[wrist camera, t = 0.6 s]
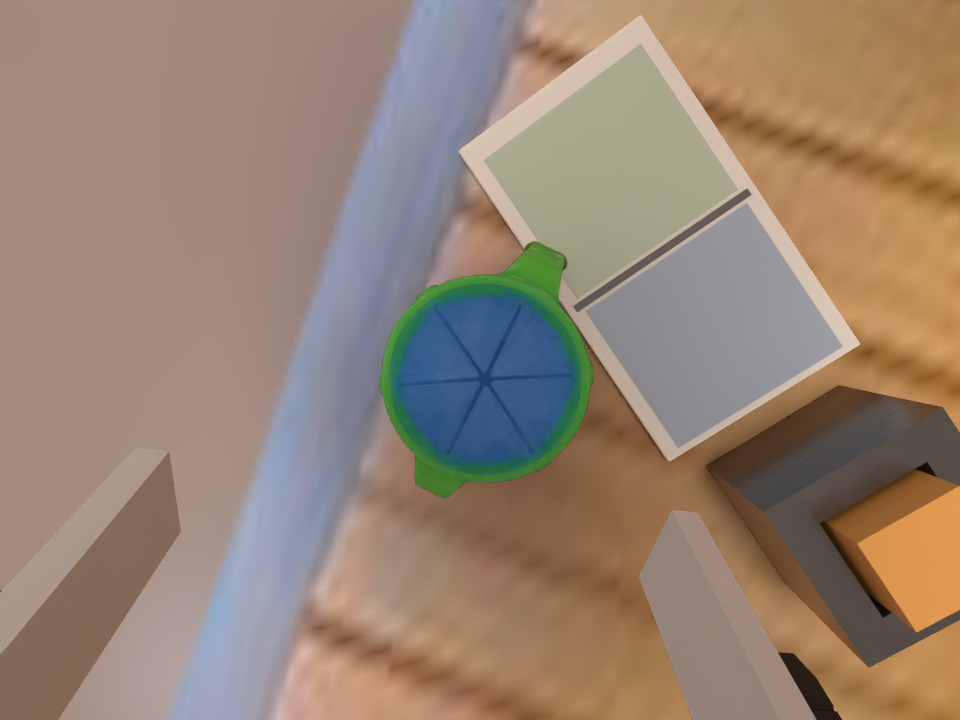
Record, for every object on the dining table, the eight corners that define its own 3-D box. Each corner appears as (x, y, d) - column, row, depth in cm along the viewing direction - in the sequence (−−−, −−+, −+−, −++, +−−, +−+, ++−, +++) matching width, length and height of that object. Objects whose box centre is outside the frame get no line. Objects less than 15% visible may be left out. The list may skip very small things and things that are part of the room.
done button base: (839, 385, 32) (942, 407, 24) (921, 509, 32) (1051, 571, 24) (706, 465, 33) (763, 511, 25) (786, 584, 33) (868, 667, 26)
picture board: (637, 23, 31) (641, 13, 30) (850, 343, 32) (861, 344, 31) (460, 155, 33) (458, 150, 32) (664, 457, 33) (669, 462, 32)
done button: (888, 458, 27) (959, 485, 22) (939, 535, 27) (1020, 577, 23) (804, 507, 27) (856, 543, 23) (854, 582, 28) (916, 632, 23)
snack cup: (499, 493, 35) (489, 564, 25) (376, 413, 35) (316, 452, 25) (622, 308, 33) (666, 303, 23) (491, 226, 33) (477, 185, 23)
